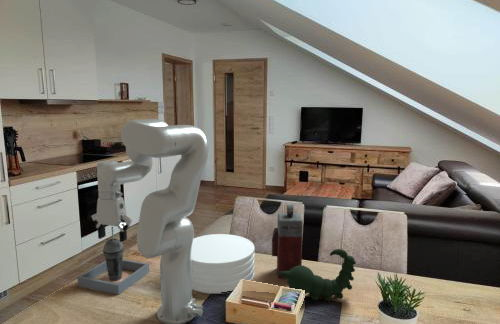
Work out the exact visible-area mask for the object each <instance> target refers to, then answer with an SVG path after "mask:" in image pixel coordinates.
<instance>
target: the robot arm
mask: <svg viewBox="0 0 500 324" xmlns="http://www.w3.org/2000/svg"><path fill="white" fill-rule="evenodd" d="M120 138H121V142H122V144H123V146H125V153H126V155H127V158H129V160H130V161H129V160H128V161H127V160H126V161H121V162H118V161H116V160H109V159H108V160H101V161H99V162H97V164H96V176H97V187H98V189H97V190H98V198H97V203H96V213H94V214H92V215H91V216H90V217H91V218H92V221H93V225H95V228H96V229H97V237H98V239H99V240H100V239H103V238H104V237H106V235H107V234H106V233H107V232H106V226H111V227H117V228H118V230H119V233H118V234H119V235H118V236H119V240H120V242H122V243H124V242H126V241H127V240H128V236H127V235H128V234H127V232H128V231H127V230H128V229H129V228H130V227H131V224H132V222H133V219H132V218H130V217H128V216H127V210H126V203H125V201H124V197H122V196H123V195H124V194H123V192H121V185H125V184H127V183H128V184H129V183H134V182H138V181H141V180H143V179H144V178H145V177H146V176H147V175H148V174H149V173H150V172H151V171H152V168H153V158H154V159H156V158H157V159H161V158H168V157H174V156H175V157H176V156H181V157H180V159H179V160H178V161H177V162H176V164H175V166H174V167H173V169H172V172H171V174H170V181H169V184H168V186H167V187H166V188H164V189H159V190H157V191H156V190H155V191H153V192H151V193H149V194H147V195H146V196H145V197H144V199H143V201H142V203H141V206H140V213H139V219H138V225H137V230H136V231H137V232H136V246H137V249H138V251H139V253H140V255H141V256H142V257H144V258H146V259H153V258H158V257H161V258H160V260H159V262H160V263H159V266H160V267H159V271H160V273H159V274H160V294H161V295H160V296H161V298H160V299H161V305H160V306H159V307H158V309H157V311H156V317H157V319H158V321H160V322H161V323H163V324H186V323H188V322H190V321H192V320H193V319H194V318H195V317H196V316H199V317H202V316H203V314H204V307H203V304H198V303H196V298H195V297H194V298H193V289H192V269H191V252H192V244H193V239H194V238H195V229H194V225H193V222H192V221H191V220H190V219H189V218H188V217H189V216H191V215H192V214H193V212H194V211H195V208H196V205H197V200H198V194H199V189H200V185H201V182H202V180H201V179H202V176H203V172H204V170H205V167H206V164H207V162H208V159H209V158H208V157H209V144H208V138H207V136H206V134H205V133H204V131H203V130H202V129H201V128H199V127H198V126H195V125H190V124H175V125H169V124H168V123H167V122H166V121H164V120H161V119H158V118H144V119H143V118H142V119H141V118H140V119H132V120H129V121H127V122H125V124H124V125H123V127H122V129H121V132H120Z"/></svg>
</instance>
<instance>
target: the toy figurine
mask: <svg viewBox="0 0 500 324" xmlns="http://www.w3.org/2000/svg"><path fill="white" fill-rule="evenodd" d="M334 255H335V256H336V255H337V256H339V257H340V258H342V259H343V262H342V265H341V269H340V270H339V273H338V275H337V276H336V278H334V279H329V278H323V277H322V276H320V275H317V274H315V273H314V272H313V270H311V269H310V267H308V266H305V265H299V266H295V267H293V268H292V269H291V270H290V271H281V272H279V274H280V275H282V276H283V277H284V278H286V279H285V280H286V282H287V285H288V288H289V289H290V288H295V289H302V290H305V294H304V295H306V294H309V295H310V296H311V300H313V301H317V300H319V298H320V296H321V297H323V298H324V301H325V302H326V301H328V302H331V300H332V299H331V298H332V297H334V296H336V298H338V299H340V300H341V299H343V298H344V293H343V291H344V290H345V289H347V290H352V289H353V286H352V284H351V281H354V280H355V278H354V276H353V274H352V273H355V272H356V269H355V267H354V265H356V263H357V262H356V261H355V258H354V257H353V256H352V255H348V253H347V251H346V250H344V249H342V248H336V249H333V250H331V252H330V253H329V256H334ZM328 302H327V303H328Z"/></svg>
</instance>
